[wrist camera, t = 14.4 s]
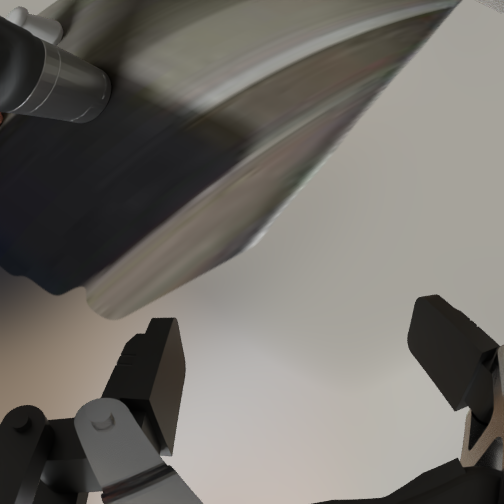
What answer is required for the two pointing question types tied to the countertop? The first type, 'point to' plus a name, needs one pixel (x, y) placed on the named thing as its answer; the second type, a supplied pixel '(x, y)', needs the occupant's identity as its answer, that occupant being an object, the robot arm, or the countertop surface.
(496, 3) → the bar
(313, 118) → the countertop surface
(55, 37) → the salt shaker
